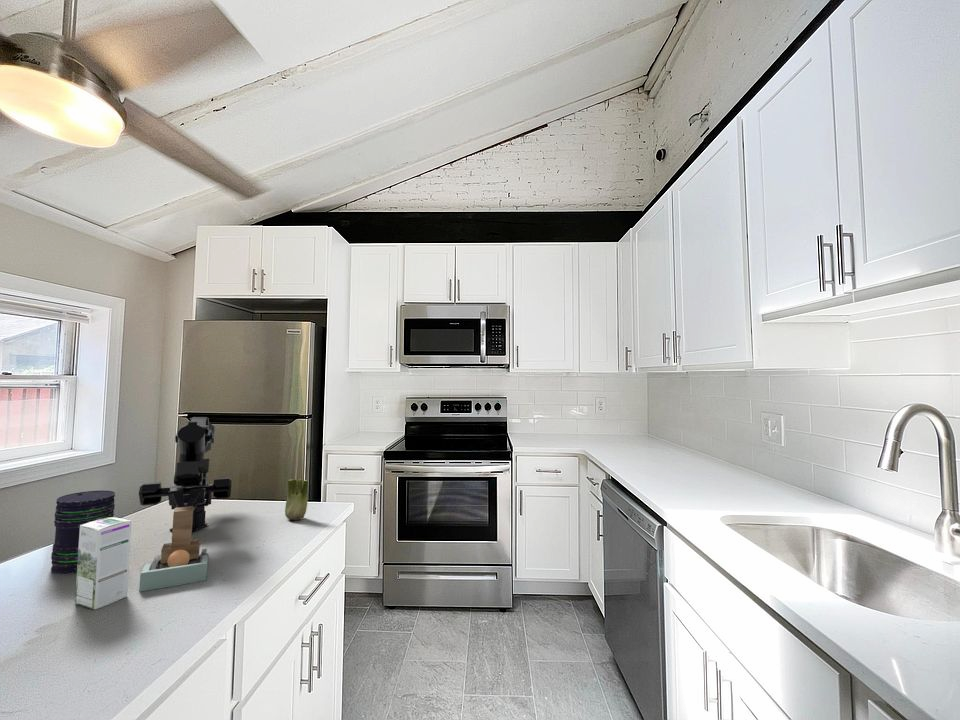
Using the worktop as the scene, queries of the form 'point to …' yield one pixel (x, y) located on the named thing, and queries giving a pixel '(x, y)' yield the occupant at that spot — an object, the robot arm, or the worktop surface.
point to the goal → (172, 575)
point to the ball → (178, 558)
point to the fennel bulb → (296, 500)
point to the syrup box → (103, 562)
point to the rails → (157, 558)
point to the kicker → (181, 535)
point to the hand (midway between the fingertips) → (183, 522)
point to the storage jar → (76, 525)
